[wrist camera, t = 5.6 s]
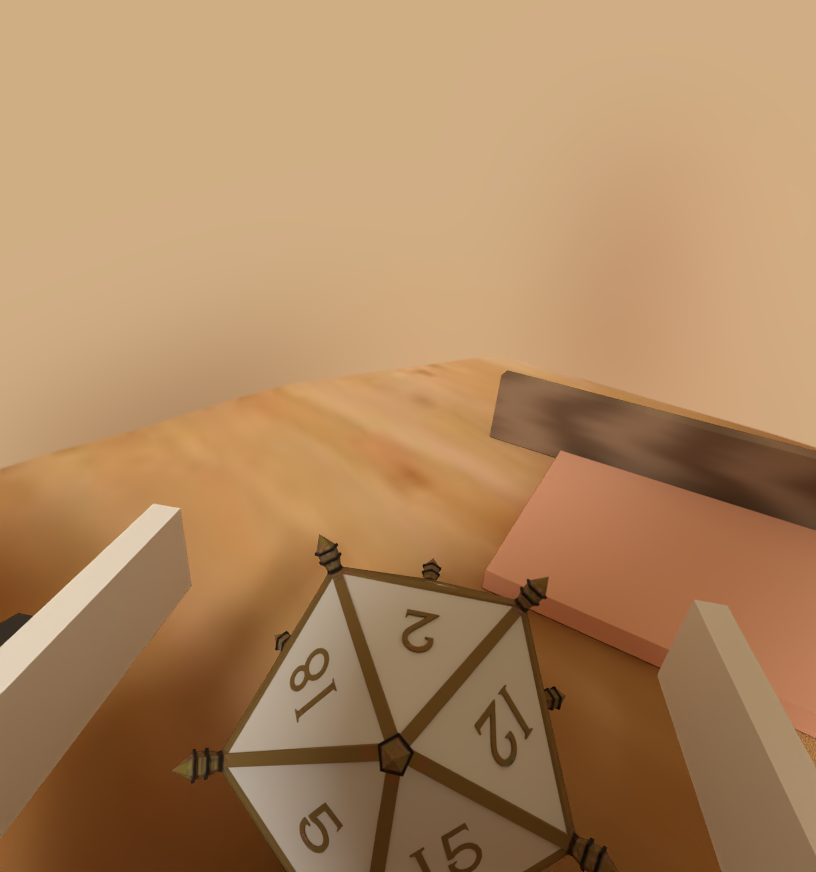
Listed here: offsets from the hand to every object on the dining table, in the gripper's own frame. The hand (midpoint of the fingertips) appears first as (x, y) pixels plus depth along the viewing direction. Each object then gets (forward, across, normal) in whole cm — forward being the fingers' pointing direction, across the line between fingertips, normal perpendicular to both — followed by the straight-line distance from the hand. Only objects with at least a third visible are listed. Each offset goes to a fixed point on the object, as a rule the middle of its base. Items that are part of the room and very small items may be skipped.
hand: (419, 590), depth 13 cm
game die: (-2, 0, -6) cm, 7 cm away
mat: (+11, +11, -6) cm, 17 cm away
